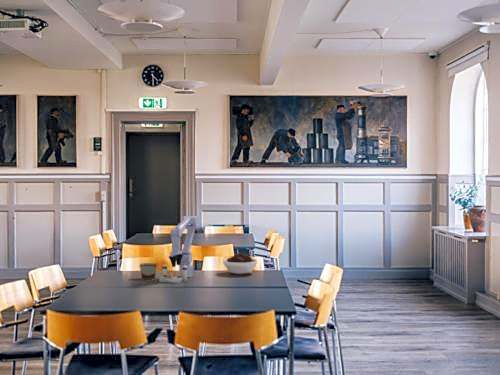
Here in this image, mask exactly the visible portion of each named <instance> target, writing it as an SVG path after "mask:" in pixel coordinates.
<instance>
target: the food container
mask: <svg viewBox="0 0 500 375" xmlns="http://www.w3.org/2000/svg"><path fill="white" fill-rule="evenodd" d="M139 268H140V276H141V277H140V278H141V279H143V280H144V279H146V280H150V279H153V280H155V279H156V275H157V273H156V272H157V268H158V265H157V263H155V262H148V263H147V262H144V263H140V264H139Z"/></svg>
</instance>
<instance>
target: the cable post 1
mask: <svg viewBox="0 0 500 375" xmlns="http://www.w3.org/2000/svg"><path fill="white" fill-rule="evenodd" d="M161 269H162V270H161V271H162V272H161V273H162V274H161V277H162V276H164V275H167V276H168V265H167V264H162V266H161Z"/></svg>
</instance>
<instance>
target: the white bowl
mask: <svg viewBox="0 0 500 375" xmlns="http://www.w3.org/2000/svg"><path fill="white" fill-rule="evenodd" d="M222 264H223V265H224V266H225V267H226V271H227V272H228V273H231V274H235V275H246V274H250V273H252V272H253V270H254V268H255V267H256V266H257V264H258V260H257V259H254V258H252V257H251V256H250V255H249V254H248V253H242V252H241V253H240V252H239V253H235V254H234V255H233V256H231V257H229V258H225V259H223V261H222Z"/></svg>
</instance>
